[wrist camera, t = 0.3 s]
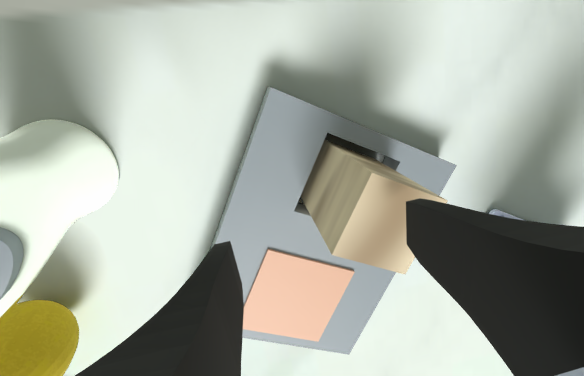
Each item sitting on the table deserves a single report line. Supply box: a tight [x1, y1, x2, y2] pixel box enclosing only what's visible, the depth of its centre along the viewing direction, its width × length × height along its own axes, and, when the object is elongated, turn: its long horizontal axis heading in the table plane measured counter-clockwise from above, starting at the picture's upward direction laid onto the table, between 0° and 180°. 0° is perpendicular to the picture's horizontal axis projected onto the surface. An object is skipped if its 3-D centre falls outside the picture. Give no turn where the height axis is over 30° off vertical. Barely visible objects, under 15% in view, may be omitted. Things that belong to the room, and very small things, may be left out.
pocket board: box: [210, 87, 456, 354], centre depth 22 cm, size 14×18×2 cm
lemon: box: [0, 300, 79, 376], centre depth 18 cm, size 6×6×8 cm
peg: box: [300, 140, 447, 274], centre depth 18 cm, size 4×4×8 cm
